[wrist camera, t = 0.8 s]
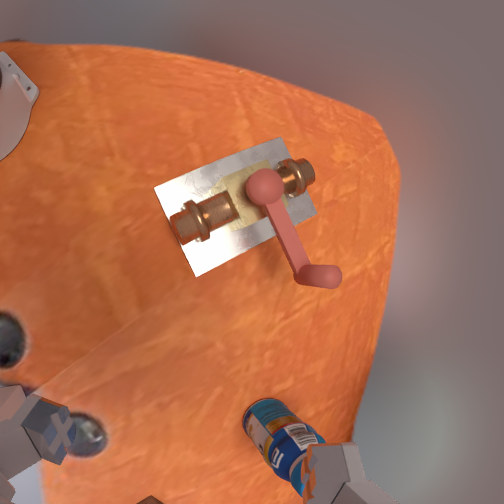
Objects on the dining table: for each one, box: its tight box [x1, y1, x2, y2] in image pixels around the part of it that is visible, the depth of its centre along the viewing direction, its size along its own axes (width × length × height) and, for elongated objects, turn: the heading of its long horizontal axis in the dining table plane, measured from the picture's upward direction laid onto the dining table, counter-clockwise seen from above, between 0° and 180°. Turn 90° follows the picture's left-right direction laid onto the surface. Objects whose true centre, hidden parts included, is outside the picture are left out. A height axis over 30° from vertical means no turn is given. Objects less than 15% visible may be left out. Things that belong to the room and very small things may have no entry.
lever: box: [246, 168, 342, 289], centre depth 37 cm, size 16×4×7 cm, turn 27°
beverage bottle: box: [243, 399, 326, 497], centre depth 39 cm, size 8×8×20 cm
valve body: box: [154, 137, 317, 277], centre depth 44 cm, size 22×14×9 cm, turn 117°
